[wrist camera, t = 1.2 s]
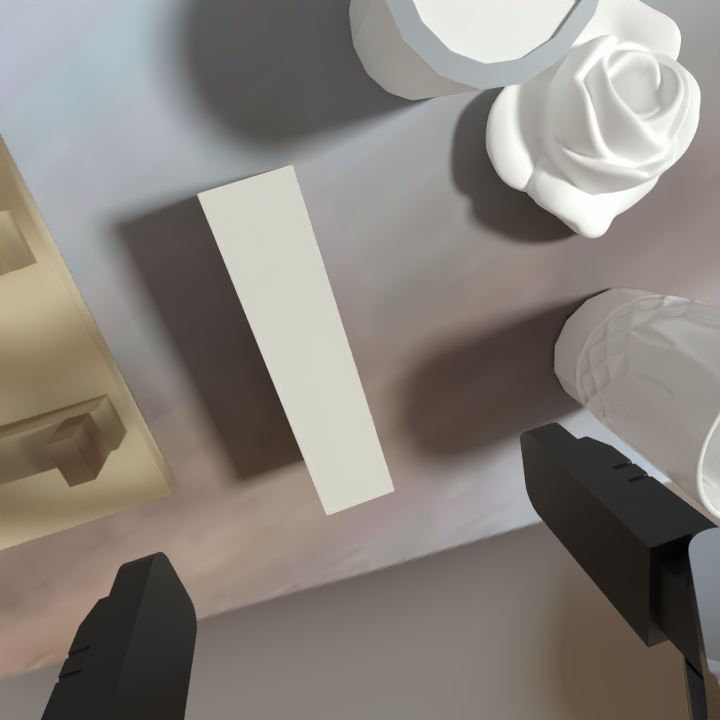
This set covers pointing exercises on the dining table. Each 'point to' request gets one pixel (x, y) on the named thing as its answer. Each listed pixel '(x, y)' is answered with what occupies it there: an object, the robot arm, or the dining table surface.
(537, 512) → the robot arm
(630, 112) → the rose
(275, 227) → the white rectangular block
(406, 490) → the dining table surface
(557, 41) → the white short tapered cylinder
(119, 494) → the rack
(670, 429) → the white cup
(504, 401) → the dining table surface
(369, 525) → the dining table surface
